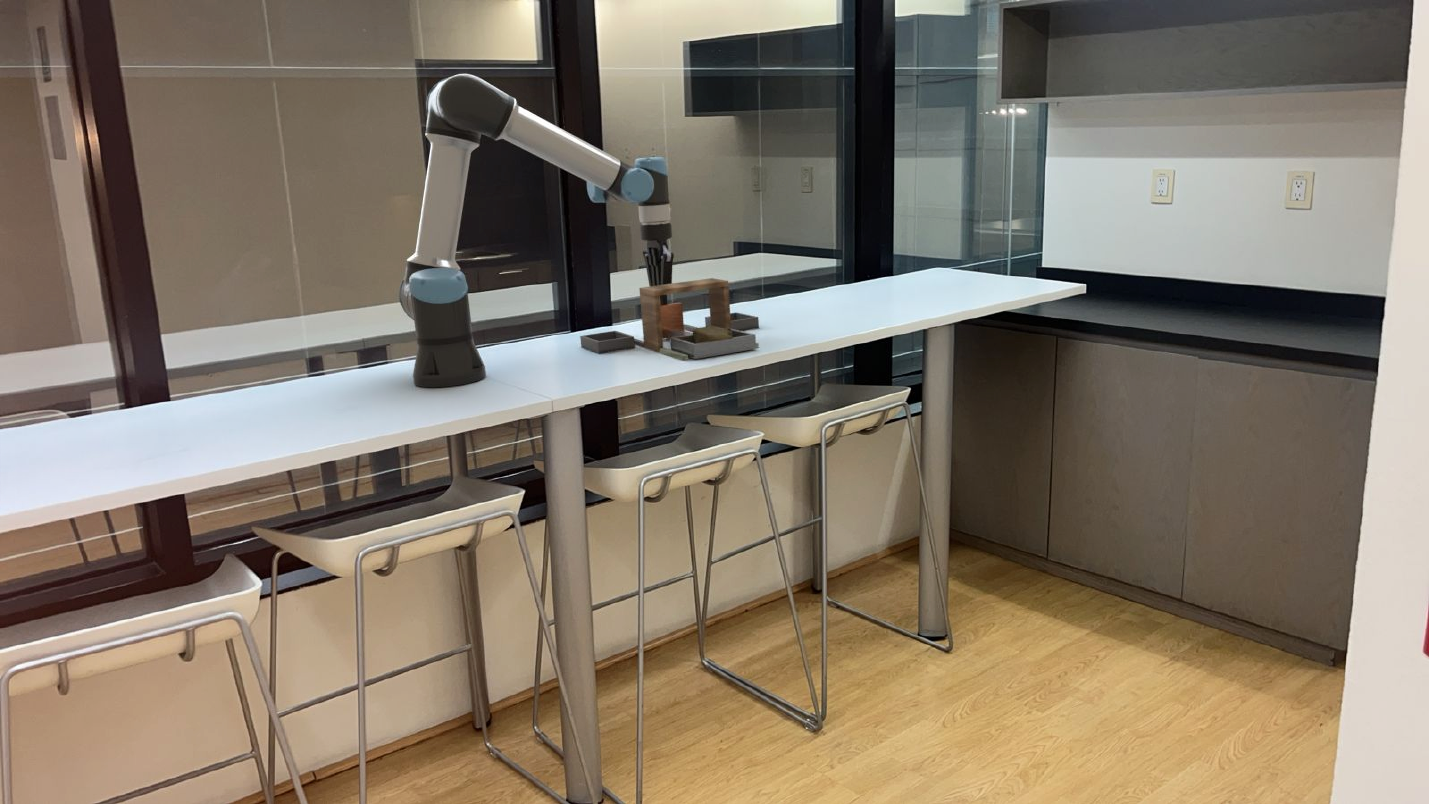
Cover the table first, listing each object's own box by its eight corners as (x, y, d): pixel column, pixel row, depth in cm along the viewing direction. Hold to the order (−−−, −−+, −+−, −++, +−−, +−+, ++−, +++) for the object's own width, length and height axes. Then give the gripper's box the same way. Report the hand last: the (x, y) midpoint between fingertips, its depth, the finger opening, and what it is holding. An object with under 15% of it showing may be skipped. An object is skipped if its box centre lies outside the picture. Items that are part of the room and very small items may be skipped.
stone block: (714, 345, 245) (713, 324, 244) (736, 353, 235) (734, 331, 234) (691, 348, 243) (690, 327, 242) (712, 356, 233) (711, 334, 232)
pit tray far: (726, 333, 261) (726, 322, 260) (705, 327, 270) (704, 317, 270) (758, 328, 265) (758, 317, 264) (737, 323, 275) (736, 312, 274)
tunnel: (683, 360, 232) (678, 296, 228) (616, 338, 264) (611, 282, 260) (758, 347, 240) (755, 285, 237) (685, 328, 272) (681, 273, 269)
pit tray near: (598, 353, 246) (597, 342, 245) (581, 347, 255) (580, 335, 255) (634, 348, 250) (633, 336, 249) (616, 341, 259) (615, 330, 259)
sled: (694, 359, 231) (691, 322, 229) (638, 341, 256) (636, 308, 254) (756, 348, 238) (754, 313, 236) (695, 332, 263) (693, 300, 261)
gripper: (681, 222, 251) (688, 320, 256) (658, 220, 262) (665, 314, 268) (652, 225, 247) (660, 324, 253) (630, 223, 259) (638, 318, 264)
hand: (663, 319), depth 260 cm, fingers closed
